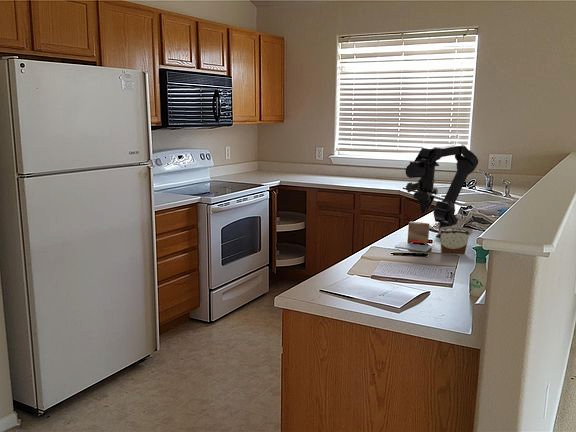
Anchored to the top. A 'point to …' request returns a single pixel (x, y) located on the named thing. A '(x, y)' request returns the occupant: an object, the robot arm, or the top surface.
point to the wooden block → (418, 232)
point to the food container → (454, 240)
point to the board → (413, 246)
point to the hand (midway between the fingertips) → (424, 212)
